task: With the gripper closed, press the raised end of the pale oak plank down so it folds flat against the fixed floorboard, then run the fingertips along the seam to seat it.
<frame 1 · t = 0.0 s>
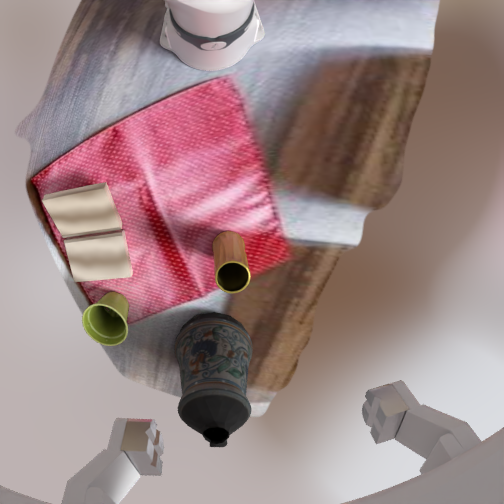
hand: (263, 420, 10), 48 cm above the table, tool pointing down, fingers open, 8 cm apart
plant pot: (116, 303, 60), on the table
fixed floorboard: (99, 255, 56), on the table
vase: (228, 246, 58), on the table
beer stein: (216, 346, 66), on the table
loose plank: (82, 212, 49), point 4 cm above the table, hinge at 32.0°
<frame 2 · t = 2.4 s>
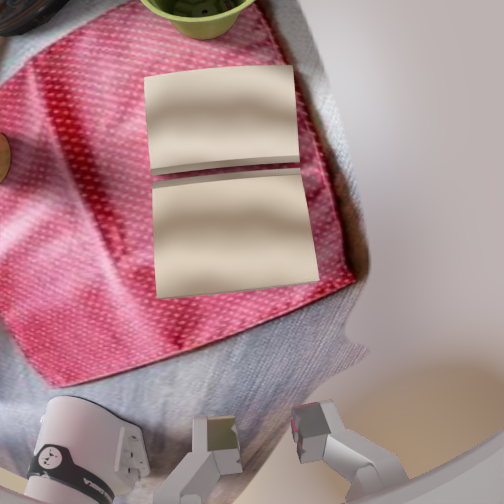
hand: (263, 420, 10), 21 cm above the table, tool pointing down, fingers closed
plant pot: (203, 15, 22), on the table
fixed floorboard: (221, 117, 26), on the table
loose plank: (231, 230, 26), point 4 cm above the table, hinge at 32.0°
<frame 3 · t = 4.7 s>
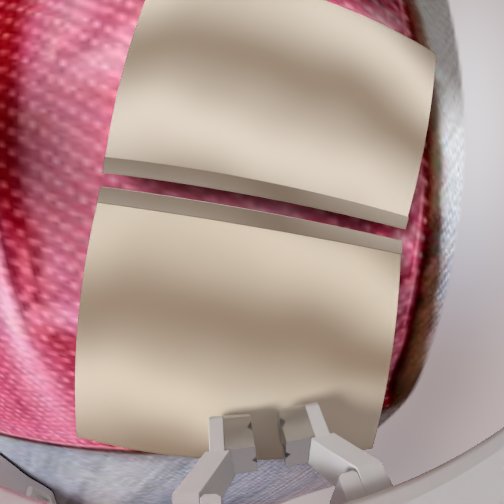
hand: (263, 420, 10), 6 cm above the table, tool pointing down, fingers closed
fixed floorboard: (283, 93, 12), on the table
loose plank: (247, 341, 12), point 3 cm above the table, hinge at 26.9°, touching gripper
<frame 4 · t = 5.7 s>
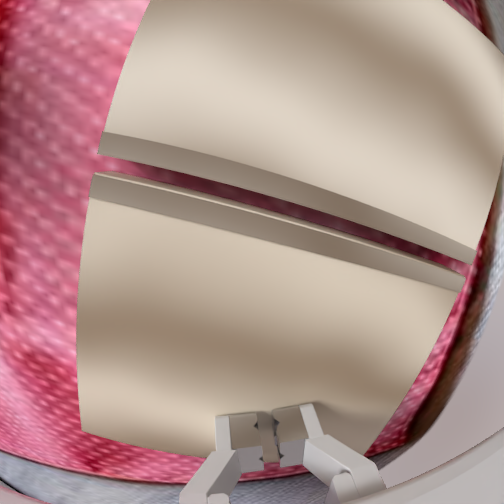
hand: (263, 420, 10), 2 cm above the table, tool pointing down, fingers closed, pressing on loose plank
fixed floorboard: (351, 78, 9), on the table
loose plank: (268, 363, 10), point 1 cm above the table, hinge at 3.8°, touching gripper
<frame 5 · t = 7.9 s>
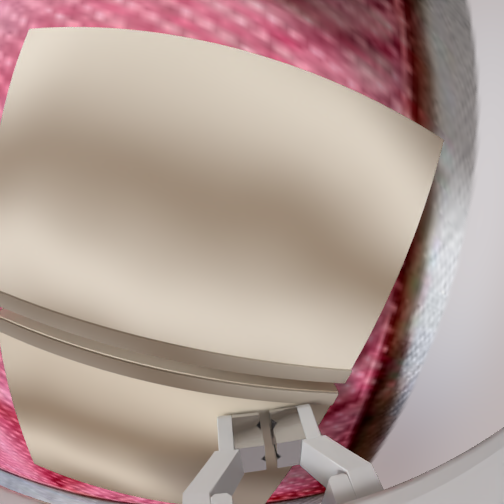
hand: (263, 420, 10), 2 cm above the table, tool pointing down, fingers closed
fixed floorboard: (195, 205, 9), on the table
loose plank: (150, 439, 11), point 1 cm above the table, hinge at 3.7°, touching gripper
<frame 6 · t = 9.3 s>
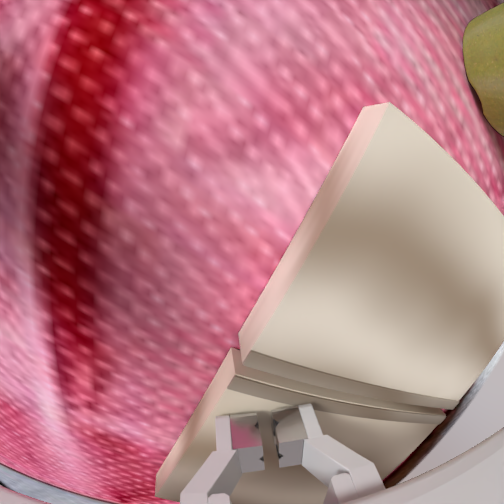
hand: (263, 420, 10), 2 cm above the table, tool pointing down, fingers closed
plant pot: (497, 76, 9), on the table
fixed floorboard: (424, 292, 11), on the table
loose plank: (307, 461, 13), point 1 cm above the table, hinge at 3.7°
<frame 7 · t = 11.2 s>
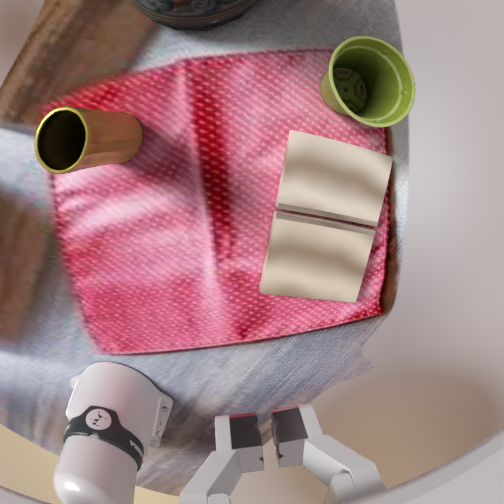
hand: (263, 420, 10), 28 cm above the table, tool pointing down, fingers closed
plant pot: (342, 91, 32), on the table
fixed floorboard: (334, 178, 36), on the table
vase: (119, 137, 32), on the table
loose plank: (318, 259, 38), point 1 cm above the table, hinge at 3.7°
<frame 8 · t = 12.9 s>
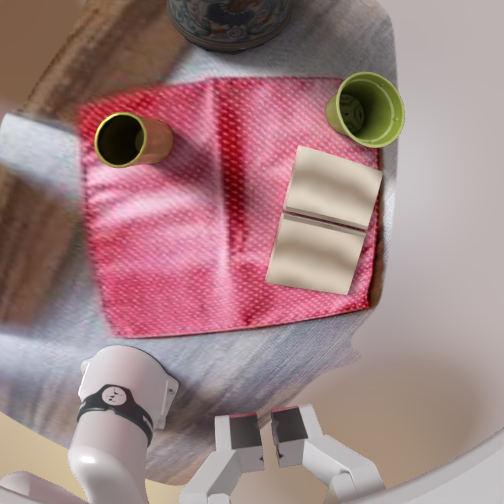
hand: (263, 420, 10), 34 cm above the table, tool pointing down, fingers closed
plant pot: (343, 114, 39), on the table
fixed floorboard: (332, 188, 43), on the table
vase: (151, 141, 38), on the table
beer stein: (227, 0, 32), on the table
loose plank: (316, 256, 44), point 1 cm above the table, hinge at 3.7°
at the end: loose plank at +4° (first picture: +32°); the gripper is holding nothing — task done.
